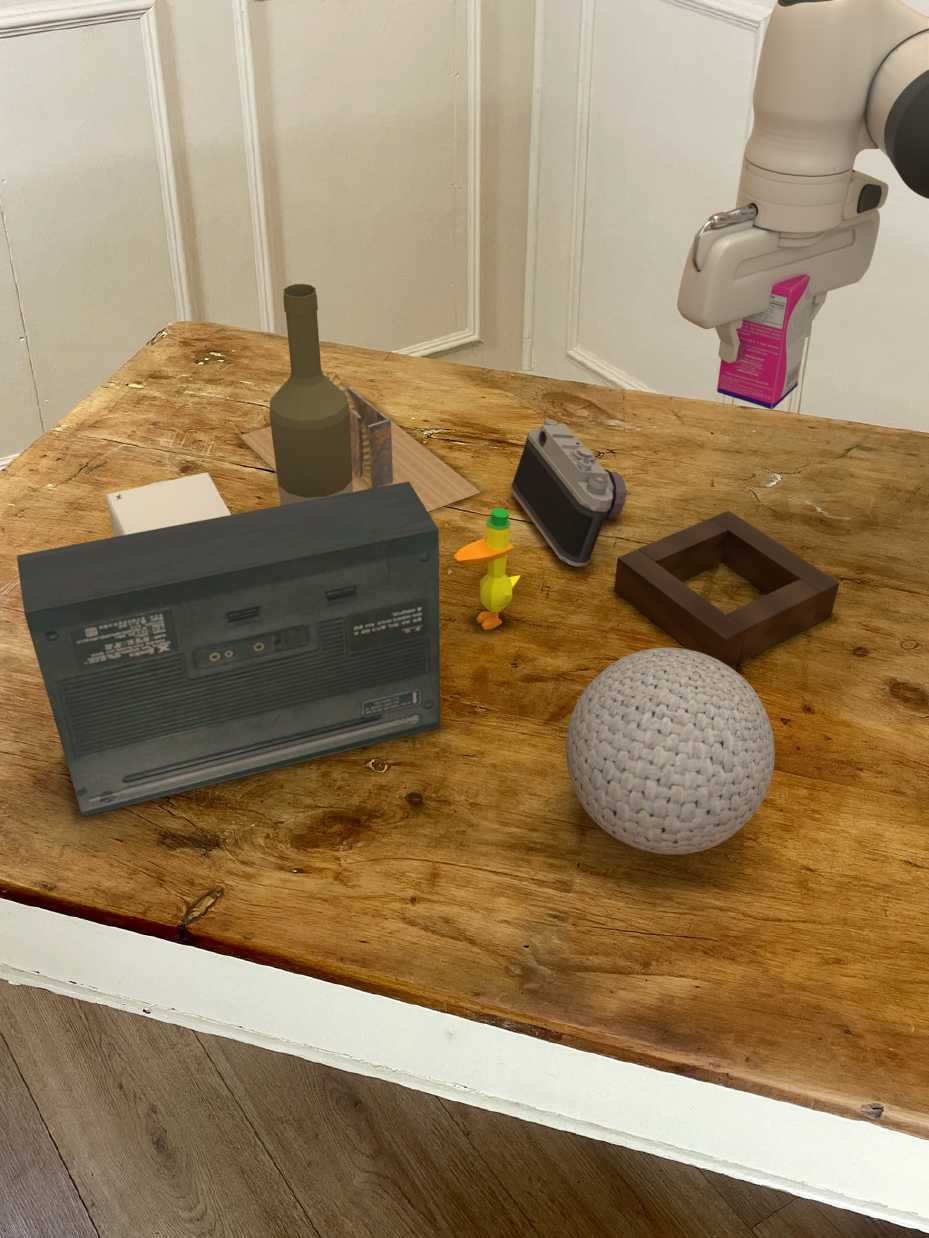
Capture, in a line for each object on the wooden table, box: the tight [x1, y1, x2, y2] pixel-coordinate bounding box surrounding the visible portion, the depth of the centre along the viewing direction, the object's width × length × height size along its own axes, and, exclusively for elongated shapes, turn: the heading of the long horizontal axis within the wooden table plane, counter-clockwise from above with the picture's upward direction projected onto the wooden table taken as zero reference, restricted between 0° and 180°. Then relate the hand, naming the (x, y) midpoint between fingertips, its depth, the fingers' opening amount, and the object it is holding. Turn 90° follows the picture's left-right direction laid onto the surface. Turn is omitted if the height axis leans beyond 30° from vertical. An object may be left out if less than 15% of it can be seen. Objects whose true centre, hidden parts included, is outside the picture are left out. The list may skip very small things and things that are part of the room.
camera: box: [510, 418, 627, 568], centre depth 121 cm, size 16×9×10 cm, turn 20°
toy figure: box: [453, 507, 522, 631], centre depth 107 cm, size 7×4×12 cm, turn 119°
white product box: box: [105, 472, 232, 537], centre depth 103 cm, size 9×9×15 cm
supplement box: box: [716, 272, 814, 410], centre depth 107 cm, size 6×6×12 cm
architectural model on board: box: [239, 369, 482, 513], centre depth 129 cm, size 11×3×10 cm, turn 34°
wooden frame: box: [613, 510, 840, 668], centre depth 112 cm, size 14×14×4 cm
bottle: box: [269, 283, 353, 506], centre depth 105 cm, size 7×7×30 cm
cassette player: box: [16, 481, 441, 818], centre depth 92 cm, size 29×7×20 cm, turn 110°
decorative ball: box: [565, 647, 776, 856], centre depth 87 cm, size 15×15×15 cm
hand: (763, 348), depth 108 cm, fingers closed on supplement box, 7 cm apart
